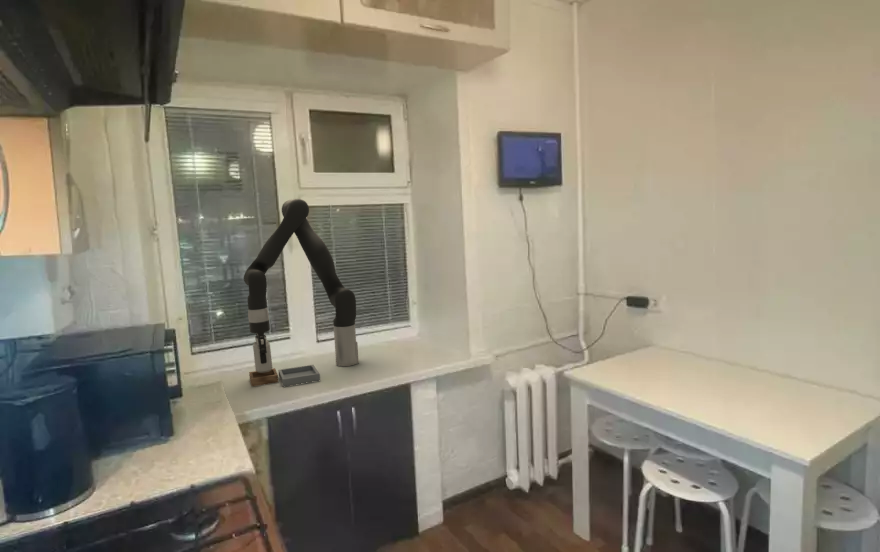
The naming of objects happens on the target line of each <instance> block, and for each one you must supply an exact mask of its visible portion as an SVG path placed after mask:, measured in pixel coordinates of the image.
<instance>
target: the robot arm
mask: <svg viewBox="0 0 880 552" xmlns="http://www.w3.org/2000/svg"><path fill="white" fill-rule="evenodd" d="M309 213H310V207H309V204H308V203H307V201H305V200H303V199H301V198H293V199H292V198H291V199H288V200H286V201H284V202H283V204H282V206H281V214H282V216H283V219H282V220H281V222H280V224H279V225H278V227H277V228H276V229H275V231H273V233H272V234H271V235H270V237H269V238H268V239H267V240H266V241H265V243H264V244H263V246H262V247H261V249H260V251H259V253H258V254H257V256H256V258H255V259H254V260H253V261H252V263H251V264H250V265H248V268H247V269H246V270H245V272H244V274H243V282H244V283H245V284H246V285H247V286H248V295H247V308H248V311H247V312H248V314H247V315H248V325H249V326H248V328H249V332H250V334H255V336H254V339H255V342H257V348H258V349H259V354H260V360H261V364H264V363H267V359H266V353H267V351H266V347H267V344H266V340H268V339H267V335H266V334H265V333H267V332H269V331H270V330H271V325H270V317H269V316H270V315H269V314H270V313H269V309H268V300H267V291H268V287H267V286H268V281H267V277H266V273H267V272H268V271H269V269H271V268H273V266H274V265H275V264H276V262H277V260H278V258H279V257H280V255H281V254H282V252H283V250H284V249H285V246H286V245H287V244H288V242H289V240H290V239H291V237H292V236H293V235H294V234H295V235H294V236H296V239H297V240H298V242H299V244H300V247H301V248H302V250H303V252H304V255H305V256H306V258H307V260H308V262H309V264H310V266H311V267H312V268H313V270H314V272H315V274H316V275H317V277H318V279H319V280H320V282H321V283H322V285H323V287H324V288H323V289H324V290H325V293H326V295H327V298H328V300H329V303H330V304H331V306H333V307H334V309H335V316H334V318H333V320H332V322H333V336H334V338H333V339H334V353H335V354H334V355H335V365H336V366H338V367H349V366H353V365H357V364H359V363H360V362H359V345H358V341H357V336H356V335H357V334H356V319H357V299H356V296H355V293H354V291H353V290H351V289H348V288H346V287H345V286H344V285H343V284H342V282H341V280H340V279H339V276H338V274H337V271H336V265H335V262H334V259H333V256H332V254H331V252H330V250H329V248H328V246H327V245H326V243H325V242H324V241H323V239H322V238H321V237H320V235H318V234H317V232H316V231H315V230H314V229H313V228H312V227H311V224H310V222H309V221H308V219H307V218H308V216H309ZM261 348H264V350H263V351H261Z"/></svg>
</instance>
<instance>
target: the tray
mask: <svg viewBox="0 0 880 552" xmlns="http://www.w3.org/2000/svg"><path fill="white" fill-rule="evenodd" d="M278 379H279V380H280V383H281V385H282V387H283V388H285V387H284V386H287V387H291V386H290V385H293V386H297V385H296V384H299V385H302V384H301V383H305V384H307V383H306V382H311V383H313V382H312V381H317V382H320V381H321V373H320V372H319V370H318V369H317V368H316V367H315V365H314V364H308V365H307V364H306V365H300V366H296V367H295V366H294V367H288V368H282V369H281V368H280V369H278ZM319 380H320V381H319Z"/></svg>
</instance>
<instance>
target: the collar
mask: <svg viewBox="0 0 880 552" xmlns="http://www.w3.org/2000/svg"><path fill="white" fill-rule="evenodd" d="M248 374H249V382H250V386H251V387H257V386H264V384H265V385H270V384H277V383H279V373H278V372H277V370H276V368H274V367H272V369H271V371H269V372H265V373H258V372H257V371H256V370H255V371H254V370H253V371H249V373H248Z"/></svg>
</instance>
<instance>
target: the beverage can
mask: <svg viewBox="0 0 880 552" xmlns="http://www.w3.org/2000/svg"><path fill="white" fill-rule="evenodd" d="M266 344H267V347H266V351H267V353H266V359H267V363H264V364H261V360H260V354H259V349H258V348H257V342H256V341H254V342H253V345H252V349H253V358H254V359H253V360H254V369H255V371H257V372H258V373H265V372H269V371H271V369H273V361H272V351H271V350H272V349H271V343H270V341H269V340H268V339H267V340H266ZM263 350H264V348H261V351H263Z"/></svg>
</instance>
